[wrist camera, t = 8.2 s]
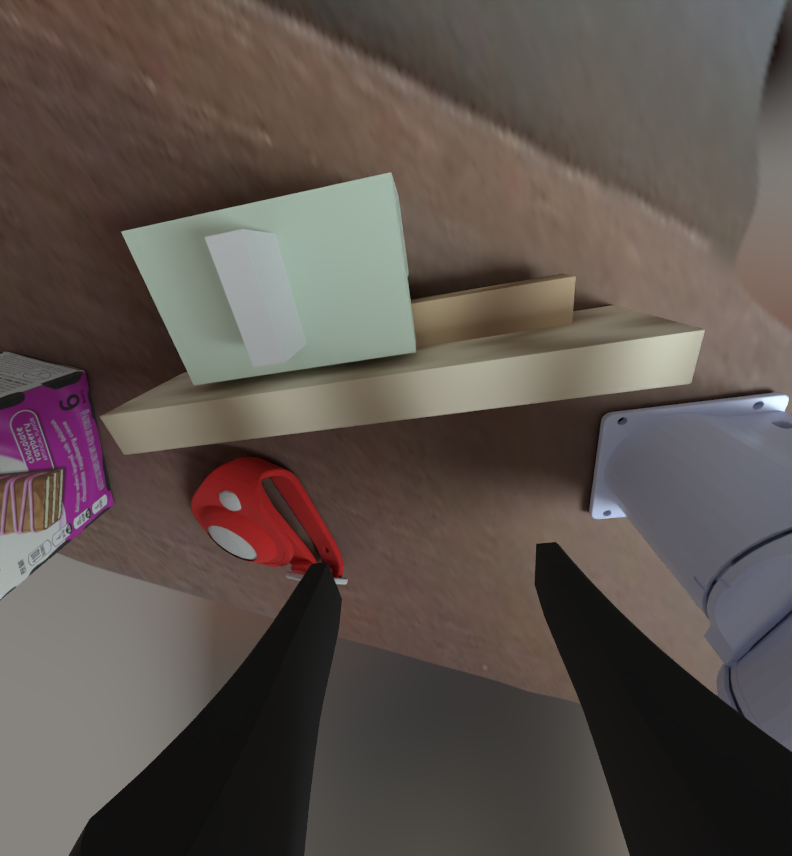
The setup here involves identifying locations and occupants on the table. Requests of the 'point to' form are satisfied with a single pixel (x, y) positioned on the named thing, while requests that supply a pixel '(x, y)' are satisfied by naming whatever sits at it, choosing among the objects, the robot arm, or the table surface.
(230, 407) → the wall board
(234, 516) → the tracker holder
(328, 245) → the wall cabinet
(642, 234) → the table surface
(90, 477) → the candy bar box
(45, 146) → the table surface
